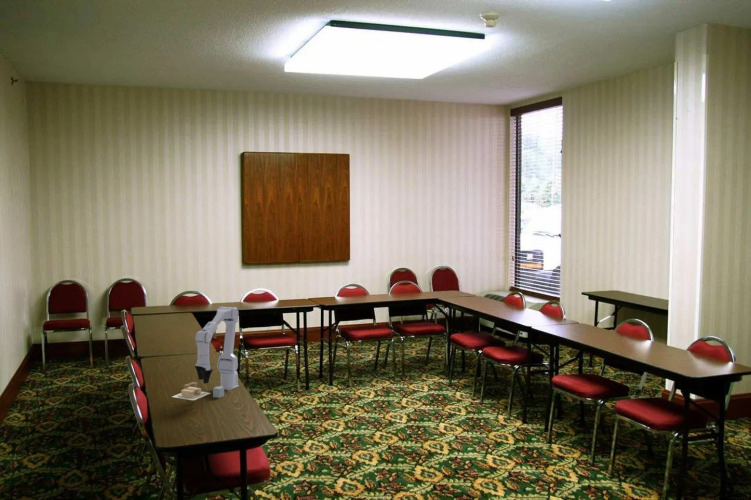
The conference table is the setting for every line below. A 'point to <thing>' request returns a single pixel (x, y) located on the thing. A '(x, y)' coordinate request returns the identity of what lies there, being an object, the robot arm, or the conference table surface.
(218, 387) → the grey rectangular block
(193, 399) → the white square board
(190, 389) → the maple slab
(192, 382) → the walnut bar
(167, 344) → the conference table surface
